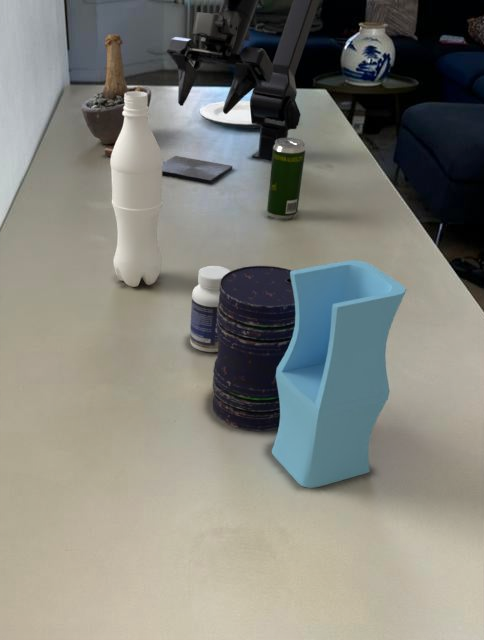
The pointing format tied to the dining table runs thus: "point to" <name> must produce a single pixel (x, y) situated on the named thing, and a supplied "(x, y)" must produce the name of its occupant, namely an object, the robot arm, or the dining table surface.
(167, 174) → the spatula
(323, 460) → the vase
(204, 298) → the pill bottle
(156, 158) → the water bottle
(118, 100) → the planter
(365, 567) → the dining table surface
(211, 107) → the plate
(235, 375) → the storage jar
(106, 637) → the dining table surface
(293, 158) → the beer can
